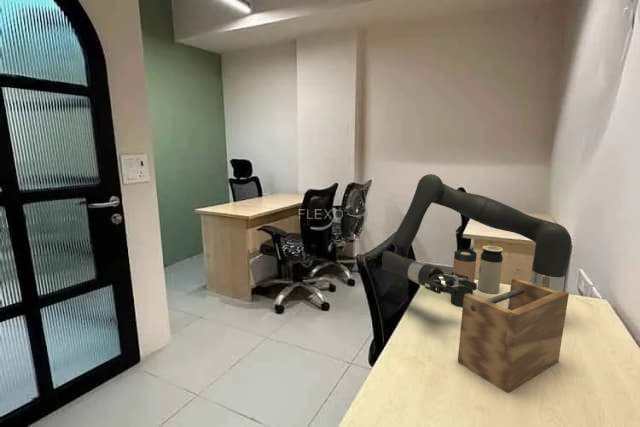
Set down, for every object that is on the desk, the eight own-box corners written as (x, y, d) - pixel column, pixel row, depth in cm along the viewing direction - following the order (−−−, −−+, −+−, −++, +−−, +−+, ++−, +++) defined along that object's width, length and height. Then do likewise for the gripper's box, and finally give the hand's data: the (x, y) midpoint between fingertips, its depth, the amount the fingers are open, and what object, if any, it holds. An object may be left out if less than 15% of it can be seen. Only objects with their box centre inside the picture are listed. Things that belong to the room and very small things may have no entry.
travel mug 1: (474, 309, 124) (479, 256, 121) (451, 306, 126) (456, 254, 122) (469, 300, 132) (474, 250, 128) (448, 298, 133) (452, 248, 130)
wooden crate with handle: (457, 362, 93) (464, 292, 89) (508, 337, 105) (515, 276, 102) (508, 393, 81) (518, 315, 78) (558, 361, 94) (568, 293, 90)
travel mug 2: (501, 289, 142) (506, 247, 139) (495, 295, 136) (500, 252, 133) (480, 284, 147) (485, 244, 144) (474, 290, 141) (479, 248, 138)
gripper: (410, 267, 112) (452, 283, 98) (439, 260, 119) (482, 273, 106) (409, 289, 113) (451, 307, 100) (438, 280, 121) (480, 296, 107)
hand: (467, 290), depth 103 cm, fingers open, 8 cm apart
